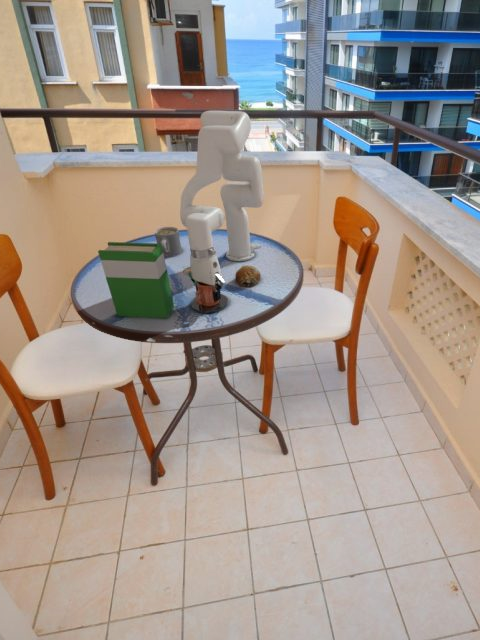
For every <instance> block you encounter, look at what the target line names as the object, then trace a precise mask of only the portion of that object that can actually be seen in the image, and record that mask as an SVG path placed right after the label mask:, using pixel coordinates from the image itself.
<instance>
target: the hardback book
mask: <svg viewBox="0 0 480 640" xmlns="http://www.w3.org/2000/svg"><path fill="white" fill-rule="evenodd" d="M97 252H98V253H97V254H98V257H99V259H100V262H101V266H102V270H103V273H104V277H105V280H106V283H107V286H108V289H109V293H110V296H111V298H112V303H113V306H114V309H115V312H116V316H117V317H133V318H134V317H135V318H155V319H156V318H157V319H159V318H160V319H161V318H162V319H168V318H169V316H170V315H171V313H172V312H173V310H174V308H175V303H174V299H173V293H172V288H171V284H170V279H169V273H168V269H167V263H166V259H165V258H166V257H165V256H164V253H163V248H162V244H157V242H156V243H153V242H121V241H120V242H119V241H118V242H117V241H108V242H107V247H106V248H104V249H99V250H97Z"/></svg>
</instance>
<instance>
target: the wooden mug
mask: <svg viewBox="0 0 480 640" xmlns="http://www.w3.org/2000/svg"><path fill="white" fill-rule="evenodd" d="M215 286H216V288H217V285H216V284H215ZM197 288H198V291H197V292H196V291H195V293H194V295H195V298H196V301H197V305H200V304H201V305H203V306H213V305H216V304H218V303H219V300H218V301H217V302H214V297H213V292H214V290H213V288H212V286H211V285H209V284H205V283H202V282H199V281H197ZM198 294H199V296H198ZM199 300H200V302H199Z"/></svg>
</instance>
